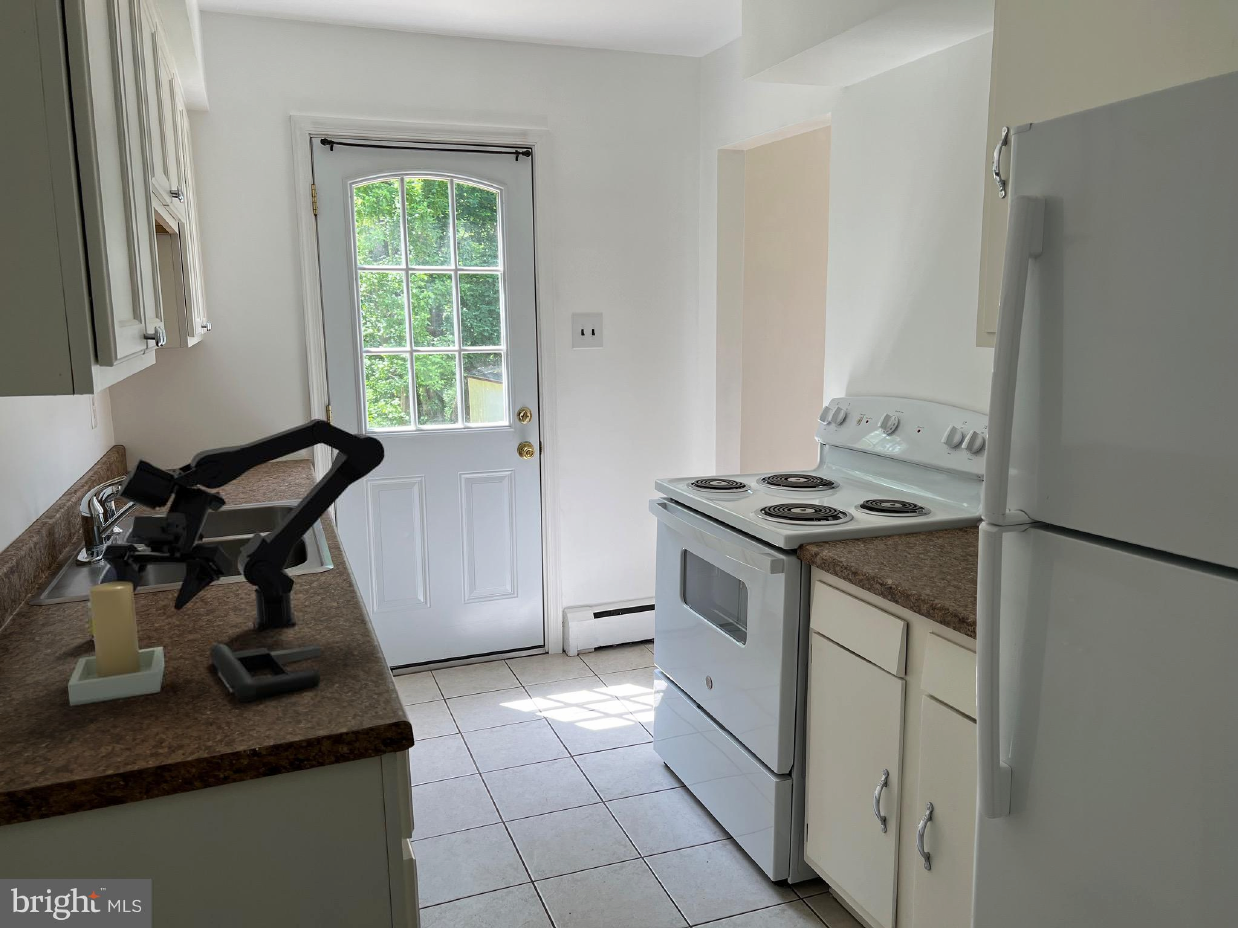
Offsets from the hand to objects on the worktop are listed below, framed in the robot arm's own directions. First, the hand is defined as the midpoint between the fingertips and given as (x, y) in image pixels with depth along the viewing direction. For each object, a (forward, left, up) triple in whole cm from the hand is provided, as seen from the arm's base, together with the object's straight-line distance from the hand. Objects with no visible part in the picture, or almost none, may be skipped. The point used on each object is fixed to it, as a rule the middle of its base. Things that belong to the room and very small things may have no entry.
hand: (147, 608), depth 136 cm
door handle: (+11, +17, -10) cm, 22 cm away
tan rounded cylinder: (+6, -4, -8) cm, 11 cm away
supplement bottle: (-18, -8, -9) cm, 22 cm away
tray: (+6, -4, -9) cm, 12 cm away
